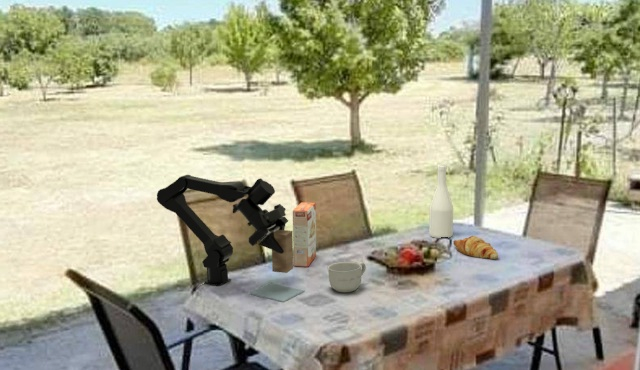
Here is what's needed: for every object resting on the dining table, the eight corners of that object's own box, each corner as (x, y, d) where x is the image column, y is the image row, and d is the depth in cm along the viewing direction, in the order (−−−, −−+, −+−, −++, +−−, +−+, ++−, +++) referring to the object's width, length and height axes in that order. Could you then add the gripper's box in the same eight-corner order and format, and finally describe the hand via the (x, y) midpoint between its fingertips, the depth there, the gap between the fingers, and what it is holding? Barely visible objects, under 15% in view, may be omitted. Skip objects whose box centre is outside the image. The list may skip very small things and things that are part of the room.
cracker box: (309, 267, 234) (308, 210, 230) (293, 266, 235) (291, 210, 231) (317, 256, 247) (316, 201, 243) (301, 255, 248) (300, 201, 244)
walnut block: (272, 271, 209) (271, 233, 207) (279, 266, 214) (278, 229, 211) (286, 273, 207) (285, 234, 205) (293, 268, 212) (292, 230, 209)
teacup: (338, 297, 204) (338, 273, 202) (322, 287, 213) (321, 263, 212) (376, 289, 210) (376, 265, 209) (359, 279, 220) (358, 257, 218)
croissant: (502, 268, 240) (509, 247, 241) (487, 260, 234) (494, 239, 234) (457, 253, 257) (465, 234, 257) (442, 246, 250) (450, 227, 251)
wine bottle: (429, 238, 267) (430, 166, 262) (429, 232, 277) (430, 162, 271) (452, 239, 266) (454, 166, 260) (452, 233, 275) (453, 162, 269)
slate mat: (248, 293, 209) (248, 292, 209) (270, 283, 218) (270, 282, 217) (283, 302, 201) (283, 301, 201) (304, 291, 210) (304, 290, 210)
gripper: (256, 204, 199) (290, 242, 197) (282, 192, 216) (313, 227, 214) (234, 227, 203) (267, 265, 201) (261, 213, 220) (292, 248, 218)
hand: (286, 250), depth 209 cm, fingers closed on walnut block, 5 cm apart
